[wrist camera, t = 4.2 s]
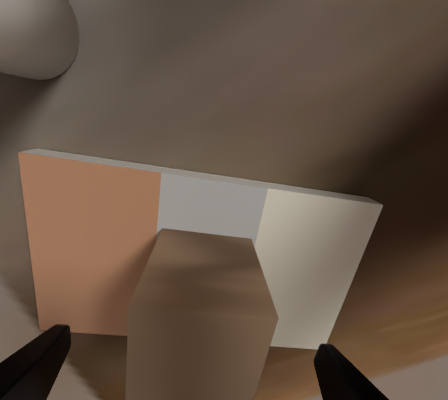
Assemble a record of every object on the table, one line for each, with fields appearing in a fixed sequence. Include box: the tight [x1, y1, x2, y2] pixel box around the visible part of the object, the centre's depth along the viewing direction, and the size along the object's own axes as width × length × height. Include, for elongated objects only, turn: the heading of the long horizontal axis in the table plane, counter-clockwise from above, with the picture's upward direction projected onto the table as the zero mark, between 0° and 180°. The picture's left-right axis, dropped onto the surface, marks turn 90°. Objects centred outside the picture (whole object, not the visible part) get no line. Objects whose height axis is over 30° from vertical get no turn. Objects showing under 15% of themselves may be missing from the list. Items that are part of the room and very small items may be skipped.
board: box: [18, 149, 383, 349], centre depth 13 cm, size 17×10×1 cm, turn 81°
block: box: [125, 228, 279, 400], centre depth 10 cm, size 4×4×5 cm
